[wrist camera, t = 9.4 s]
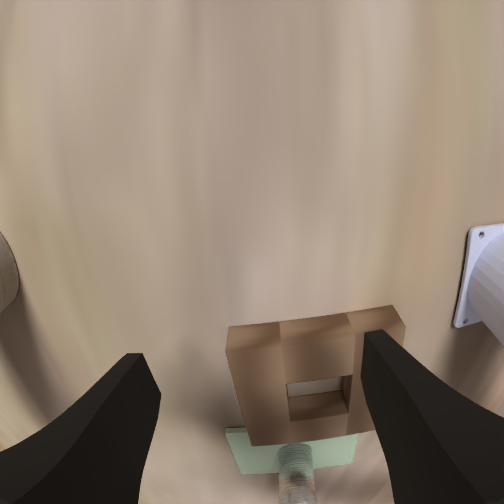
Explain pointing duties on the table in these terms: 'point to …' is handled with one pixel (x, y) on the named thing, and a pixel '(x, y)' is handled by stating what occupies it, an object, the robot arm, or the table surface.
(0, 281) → the thermos bottle
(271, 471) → the sage mat
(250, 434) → the eye block
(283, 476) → the steel peg
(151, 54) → the table surface
